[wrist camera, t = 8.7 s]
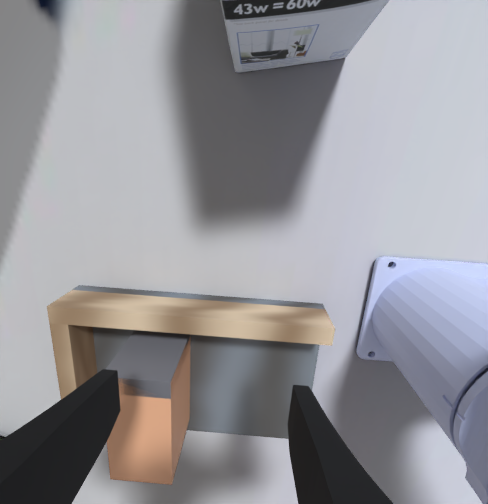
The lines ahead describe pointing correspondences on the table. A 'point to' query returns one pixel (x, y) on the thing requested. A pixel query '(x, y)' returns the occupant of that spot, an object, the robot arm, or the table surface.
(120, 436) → the terracotta bar
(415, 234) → the table surface
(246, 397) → the corner arena
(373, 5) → the light bulb box
